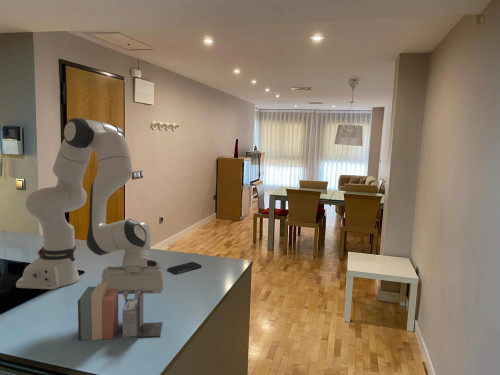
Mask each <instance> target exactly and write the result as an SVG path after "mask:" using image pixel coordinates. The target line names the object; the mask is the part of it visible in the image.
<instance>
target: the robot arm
mask: <svg viewBox="0 0 500 375" xmlns="http://www.w3.org/2000/svg"><path fill="white" fill-rule="evenodd" d="M93 152H96V160H97V172H96V177H95V179H94V181H93V182H92V183H91V185H90V186H91V187H90V191H89V215H88V218H89V220H88V229H87V233H86V241H85V242H86V246H87V248H88V249H89V250H90V252H92V253H94V254H95V255H97V256H104V255H107V254H110V253H112V252H113V253H114V252H117V251H122V250H123V251H124V254H123V255H122V256H123V257H122V262H121V266H107V267H106V268H104V269H103V270H102V272H101V282H100V283H108V289H118V295H123V298H124V300H125V301H124V302H126V299H128V297H129V295H134V297H133V299H138V297H139V294H140V291H141V288H143V295H145V294H148V295H151V294H161V293H163V291H164V276H163V272H162V266H161V263H160V262H159V261H157V260H154V259H151V258H150V257H149V256H150V255H149V254H150V253H149V252H150V250H151V245H152V244H151V243H152V234H151V229H150V226H149V225H148V224H146V223H145V222H141V221H136V220H134V219H131V218H128V219H123V220H119V221H115V222H111V223H107V203H108V200H109V198H110V197H111V196H112V195H113V194H114V193H115V192H116V191H117V190H118V189H120V188H122V187H123V186H125V185H126V184H127V183H128V182H129V180H130V179H131V177H132V175H133V174H132V170H133V168H132V162H131V161H132V160H131V155H130V150H129V147H128V143H127V140H126V136H125V132H124V131H123V129H122V128H120V127H119V126H116V125H114V124H110V123H107V122H105V121H99V120H92V119H85V118H82V117H81V118H79V117H74V118H70V119H69V120H68V121H67V122H66V123H65V125H64V127H63V140H62V142H61V144H60V147H59V149H58V152H57V154H56V157H55V161H54V164H53V167H52V172H53V174H54V176H55V177H56V178H57V183H56V185H55V186H51V187H44V188H43V187H42V188H39V189H37V190H34V191H32V192H30V193H29V194H28V195H27V197H26V199H25V207H26V209H27V211H28V212H29V214H31V215H32V216H33V217H35V218H36V219H37V220H38V223H39V224H40V226H41V229H42V234H43V236H42V237H43V246H41V248H40V249H39V250H38V251H37V255H38V256H39V257H37V258H36V259H35V260H33V261H31V263H30V264H28V265H27V266H26V267H25V268H24V269H23V273H22V277H20V278H19V279H18V280H17V281H16V282H15V287H16V288H19V289H36V290H37V289H38V290H56V289H59V288H61V287H64V286H70V285H72V284H74V283H76V282H78V281H79V280H80V279H81V278H80V274H79V272H78V267H77V262H76V261H77V260H76V259H77V246H76V244H75V242H76V241H75V238H76V237H75V227H74V226H73V224H71V223H70V222H68V221H67V219H66V215H65V213H68V212H73V211H77V210H78V209H80V208H82V207H84V206H85V204H86V203H87V199H88V194H87V192H86V190H85V189H84V187H83V185H84V184H83V181H84V180H83V179H84V176H85V173H86V170H87V167H88V164H89V161H90V159H91V154H92V153H93Z"/></svg>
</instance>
